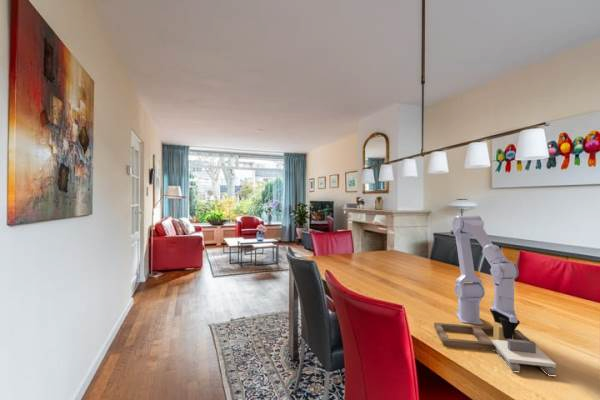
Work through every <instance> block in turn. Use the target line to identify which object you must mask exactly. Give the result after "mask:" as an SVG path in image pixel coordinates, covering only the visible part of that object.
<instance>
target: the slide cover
mask: <svg viewBox="0 0 600 400" xmlns="http://www.w3.org/2000/svg"><path fill="white" fill-rule="evenodd" d="M491 341H492V343H493V344H494V345H495V346H496V348H497V349H498V350H499V351H500V352H501V354H502V355H503V356H504V357H505V358H506V359H507V361H508V362H511V363H518V364H519V365H530V366H537V365H538V366H547V367H553V368H557V364H556V362H555V361H553V359H551V358H550V357H549V356H548V355H547V354H545V353H544V352H543V351H542V350H541V349H540V348H539V347H538V346H537V343H536V342H534V341H532V340H530V341H525V340H517V339H508V341H503V340H494V339H492V340H491ZM536 346H537V347H536ZM538 366H537V367H538Z"/></svg>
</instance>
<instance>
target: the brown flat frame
mask: <svg viewBox="0 0 600 400" xmlns="http://www.w3.org/2000/svg"><path fill="white" fill-rule="evenodd" d="M433 324H434V330H435V332H436V334H437V335H438V337H439V341H441V344H442V346H443V345H446V347H453V346H458V347H457V348H463V347H468V348H467V349H472V348H476V349H475V350H482V349H485V350H486V351H492V350H495V351H494V352H495V353H496V352H497V353H498V354H499V355H500V356H501V357H502V359H503V360H504V361H505V362H506V364H507V365H508V366H509V367H510V368H511V370H512V371H519V372H520V373H521V366H520V363H511V362H508V361H507V359H506V358H505V357H504V356H503V355H502V354H501V352H500V351H499V350H498V349H497V348H496V346H495V345H494V344H493V343H492V340H491V338H490V337H489V335H492V336H493V328H494V327H488V326H477V325H468V324H467V325H466V324H455V323H444V322H443V323H442V322H434V323H433ZM445 331H451V332H461V333H470V332H471V333H472V335H473V336H474V337H475V339H476V338H477V339H476V340H471V339H470V340H468V339H457V338H449V336H448V335H447V333H446V332H445ZM471 333H470V334H471ZM514 338H515V340H525V341H531V339H529V338H528V337H527V336H526V335H525V334H524V333H523V332H521V331H520V330H519V329H515V331H514ZM536 347H538V346H537V345H536ZM485 350H484V351H485ZM497 353H496V354H497ZM498 354H497V355H498ZM499 355H498V356H499ZM500 356H499V357H500ZM502 359H501V360H502ZM503 360H502V361H503ZM504 361H503V362H504ZM505 362H504V363H505ZM506 364H505V365H506ZM507 365H506V366H507ZM508 366H507V367H508ZM509 367H508V368H509ZM539 367H540V368H542V369H543V370H544V371H545V372H546V373H547V374H549V375H556V376H557V370H556V368H555V367H547V366H539ZM539 367H538V368H539ZM540 368H539V369H540ZM511 370H510V371H511ZM512 371H511V372H512Z"/></svg>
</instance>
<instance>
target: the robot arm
mask: <svg viewBox="0 0 600 400" xmlns="http://www.w3.org/2000/svg"><path fill="white" fill-rule="evenodd" d="M451 222H452V223H451V224H452V230H453V235H454V237H455V243H456V247H457V248H456V249H457V256H458V264H459V271H460V275H459V276H458V277H457V278H456V279H455V280H454V283H455V286H454V293H455V295H456V297H458V299H457V312H455V315H456V317H457V318H458V319H459V320H460V322H461V323H462V324H472V325H473V324H474V325H481V326H482V325H484V322H483V321H482V320H481V319H480V318H481V317H480V311H481V310H480V306H481V305H480V301H482V299H483V298H484V297H485V295H486V294H485V293H486V291H485V288H484V285H483V283H482V280H481V278H479V277H478V276H477V275H476V272H475V266H474V260H473V254H472V253H473V252H472V247H471V246H472V245H471V238H472V236H473V237H474V238H475V239H476V241H477V242H478V244H480V246H481V247H482V251H481V252H482V254H483V256H484V258H485V259H486V260H487V262H488V264H489V265H490V267H491V268H490V269H489V271H490V275H491V277H492V281H493V283H494V286H493V288H494V291H493V292H494V298H493V300H492V304H491V306H490V309H489V312H490V313H491V315H492V317H493V320H494V321H493V322H499V323H501V324H502V328H503V335H504V338H506V339H512V337H513V334H514V331H515V330H517V327H518V326H519V325H520V323H521V322H520V320H519V319H518V318H519V317H518V316H517V314H516V310H515V279H517V278H518V277H519V274H520V273H519V271H520V270H519V268H518V266H517V264H516V263H515V262H513V261H511V260H510V259H507V257H506V256H505V254H504V253H503V251H502V250H501V249H500V247H499V246H498V245H497V244H493V243H492V240H491V239H490V238H489V236H488V234H487V232H486V230H485V229H484V226H485V224H484V223H485V222H484V220H483V219H482V217H481V216H480V215H478V214H477V215H455V216H454V218H453V219H452V221H451Z"/></svg>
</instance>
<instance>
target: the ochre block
mask: <svg viewBox="0 0 600 400" xmlns="http://www.w3.org/2000/svg"><path fill="white" fill-rule="evenodd" d="M492 328H493V335H492V336H493V337H492V338H493V340H503V341H508V339H506V338H504V335H503V328H502V324H501V323H499V322H495V321H493V327H492ZM514 338H515V337H514V334H513V337H512V339H514ZM514 340H515V339H514Z"/></svg>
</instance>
